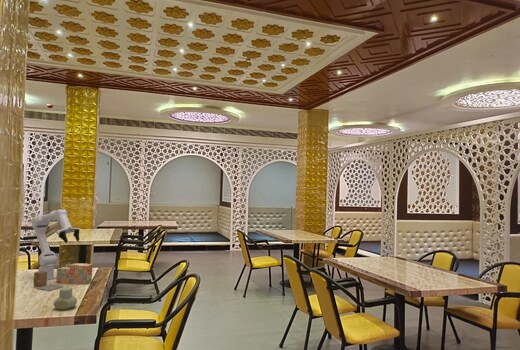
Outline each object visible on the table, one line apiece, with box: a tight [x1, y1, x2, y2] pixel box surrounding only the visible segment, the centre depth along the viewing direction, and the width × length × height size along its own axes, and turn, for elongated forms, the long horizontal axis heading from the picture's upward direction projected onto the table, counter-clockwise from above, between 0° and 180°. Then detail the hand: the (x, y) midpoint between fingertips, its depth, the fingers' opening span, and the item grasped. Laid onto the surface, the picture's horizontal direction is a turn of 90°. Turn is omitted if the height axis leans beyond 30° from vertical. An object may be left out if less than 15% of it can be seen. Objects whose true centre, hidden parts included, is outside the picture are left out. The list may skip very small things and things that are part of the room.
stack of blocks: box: [56, 262, 94, 285], centre depth 247 cm, size 21×6×12 cm, turn 84°
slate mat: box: [35, 283, 64, 292], centre depth 232 cm, size 11×10×1 cm
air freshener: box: [53, 287, 78, 311], centre depth 194 cm, size 11×8×10 cm
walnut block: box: [33, 271, 48, 289], centre depth 235 cm, size 5×5×9 cm
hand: (72, 241), depth 243 cm, fingers open, 7 cm apart
